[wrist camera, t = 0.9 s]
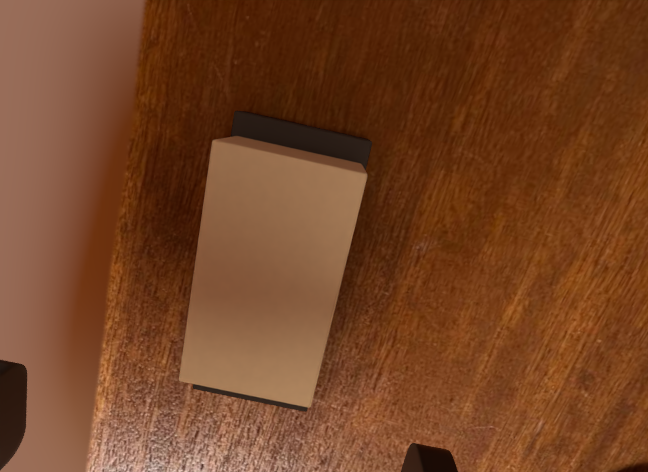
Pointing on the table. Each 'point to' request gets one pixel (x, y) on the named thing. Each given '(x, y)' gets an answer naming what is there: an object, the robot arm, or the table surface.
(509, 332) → the table surface
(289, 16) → the table surface
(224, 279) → the board eraser
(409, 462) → the robot arm
